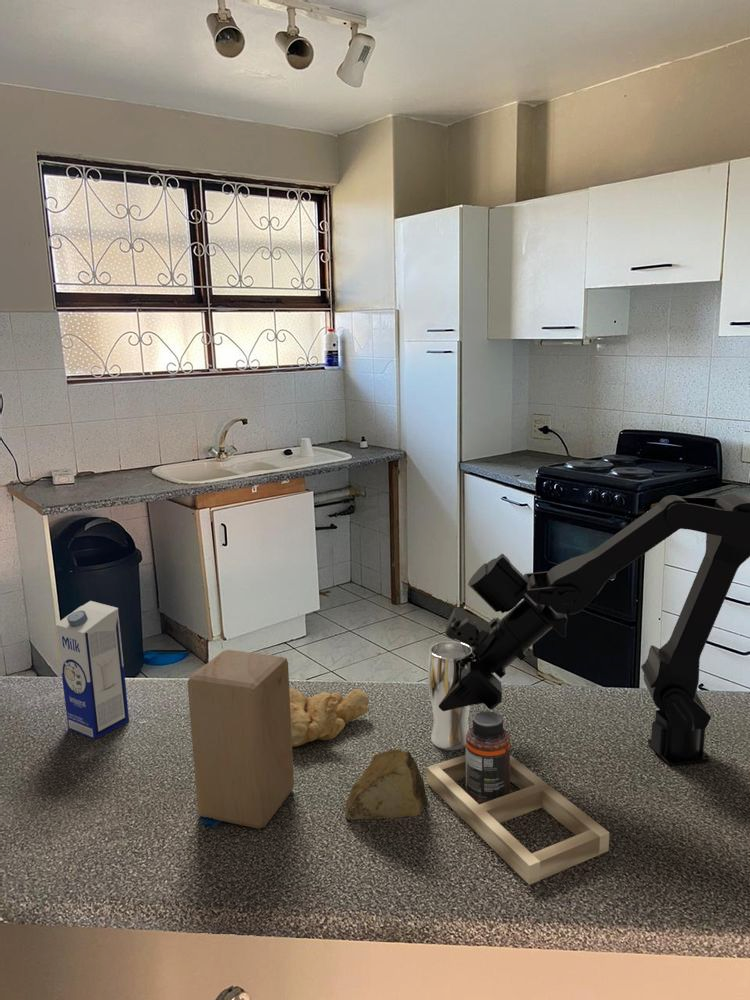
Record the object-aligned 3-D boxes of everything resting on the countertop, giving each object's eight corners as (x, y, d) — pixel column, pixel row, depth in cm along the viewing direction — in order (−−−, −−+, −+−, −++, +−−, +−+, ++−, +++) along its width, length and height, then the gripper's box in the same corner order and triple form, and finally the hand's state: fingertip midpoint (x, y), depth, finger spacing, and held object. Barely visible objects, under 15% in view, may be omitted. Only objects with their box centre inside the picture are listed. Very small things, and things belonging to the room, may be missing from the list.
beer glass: (471, 754, 111) (472, 660, 108) (425, 750, 112) (424, 657, 109) (475, 730, 118) (475, 641, 114) (431, 726, 119) (430, 639, 116)
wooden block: (297, 788, 103) (290, 654, 99) (263, 833, 94) (254, 687, 90) (233, 776, 107) (224, 646, 102) (195, 818, 98) (183, 677, 93)
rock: (328, 816, 94) (402, 823, 90) (336, 745, 97) (408, 749, 94) (361, 822, 103) (430, 828, 99) (367, 757, 106) (434, 760, 103)
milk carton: (130, 721, 123) (118, 606, 118) (95, 740, 117) (82, 620, 113) (102, 710, 126) (90, 599, 122) (67, 728, 121) (53, 612, 117)
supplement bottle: (494, 776, 105) (495, 703, 103) (518, 799, 100) (520, 723, 98) (457, 787, 103) (457, 712, 101) (480, 811, 98) (480, 733, 95)
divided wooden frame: (426, 783, 104) (426, 767, 104) (496, 760, 109) (497, 744, 109) (529, 885, 84) (529, 865, 84) (608, 850, 90) (609, 832, 89)
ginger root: (239, 742, 113) (244, 689, 113) (287, 717, 128) (292, 670, 128) (333, 765, 108) (338, 709, 108) (371, 736, 123) (376, 687, 123)
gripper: (477, 574, 118) (409, 637, 122) (478, 617, 100) (397, 690, 104) (526, 622, 119) (457, 683, 123) (536, 674, 101) (454, 743, 105)
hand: (441, 697), depth 114 cm, fingers closed on beer glass, 6 cm apart
